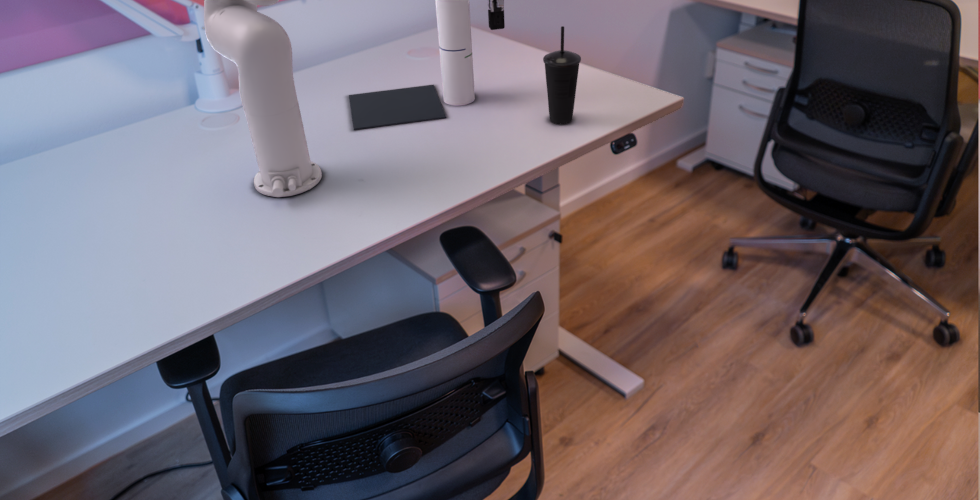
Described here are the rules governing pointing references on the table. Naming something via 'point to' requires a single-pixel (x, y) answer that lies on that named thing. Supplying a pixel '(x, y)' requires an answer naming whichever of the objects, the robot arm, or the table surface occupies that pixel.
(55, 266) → the table surface
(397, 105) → the desk mat
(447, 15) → the cylindrical container
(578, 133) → the table surface
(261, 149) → the robot arm
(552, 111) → the drinking cup
